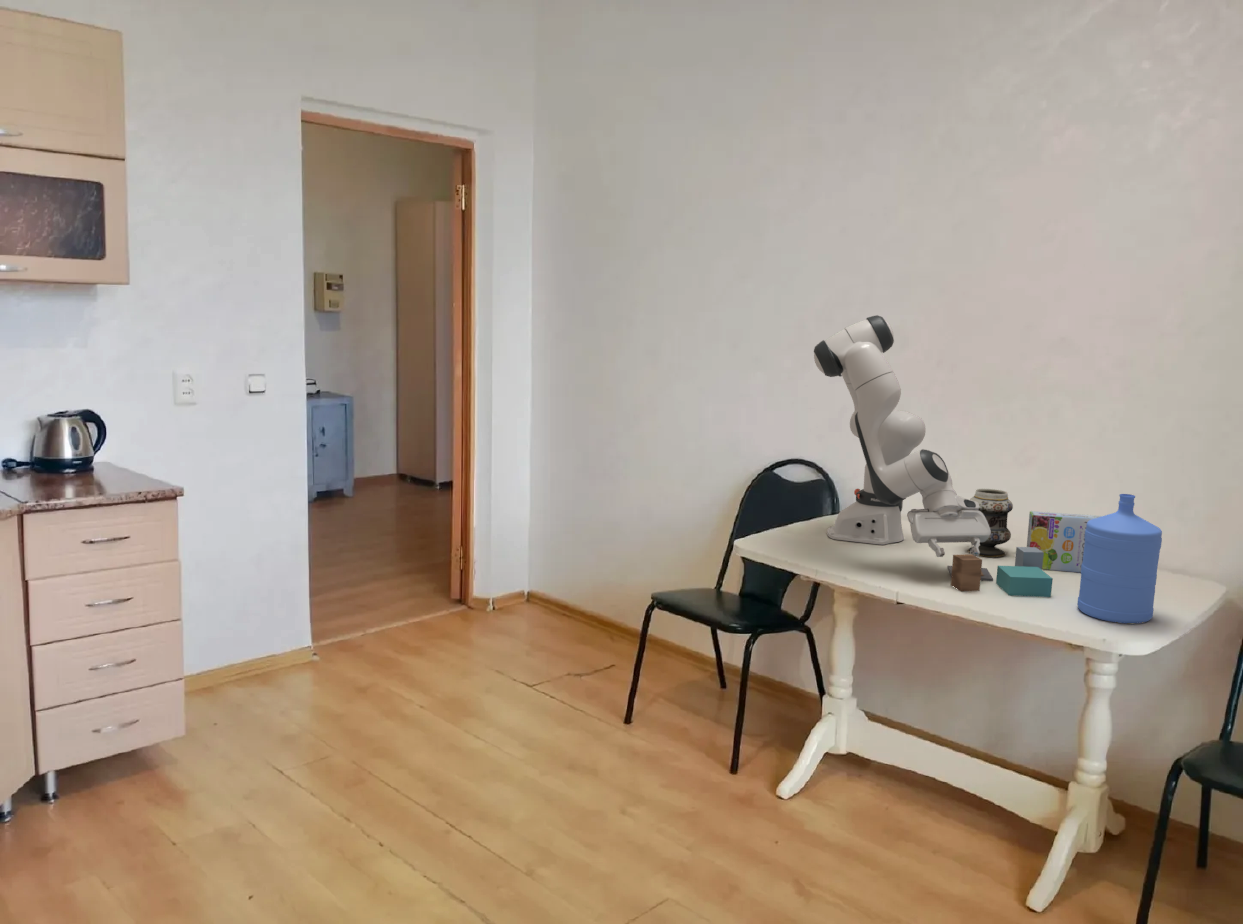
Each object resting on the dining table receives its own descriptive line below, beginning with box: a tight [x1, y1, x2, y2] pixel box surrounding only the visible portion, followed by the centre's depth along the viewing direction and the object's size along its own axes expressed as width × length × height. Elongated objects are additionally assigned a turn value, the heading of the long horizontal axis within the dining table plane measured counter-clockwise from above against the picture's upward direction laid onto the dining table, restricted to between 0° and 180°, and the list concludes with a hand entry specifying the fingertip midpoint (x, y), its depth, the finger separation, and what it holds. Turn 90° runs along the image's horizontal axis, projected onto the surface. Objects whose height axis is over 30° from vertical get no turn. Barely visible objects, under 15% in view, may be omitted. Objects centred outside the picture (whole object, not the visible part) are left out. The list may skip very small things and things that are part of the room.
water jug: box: [1076, 493, 1163, 624], centre depth 220 cm, size 16×16×28 cm
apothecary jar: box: [967, 488, 1014, 558], centre depth 272 cm, size 12×12×18 cm
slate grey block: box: [1014, 546, 1044, 571], centre depth 247 cm, size 5×5×8 cm
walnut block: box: [950, 553, 983, 592], centre depth 239 cm, size 5×5×8 cm
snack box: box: [1026, 510, 1103, 573], centre depth 257 cm, size 21×6×15 cm, turn 74°
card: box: [947, 565, 994, 582], centre depth 252 cm, size 10×10×1 cm
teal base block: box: [995, 565, 1054, 598], centre depth 239 cm, size 10×10×5 cm
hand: (958, 555), depth 241 cm, fingers open, 8 cm apart
